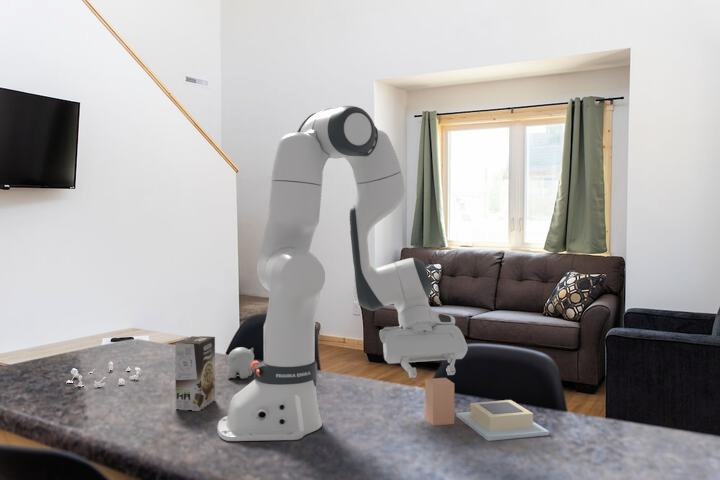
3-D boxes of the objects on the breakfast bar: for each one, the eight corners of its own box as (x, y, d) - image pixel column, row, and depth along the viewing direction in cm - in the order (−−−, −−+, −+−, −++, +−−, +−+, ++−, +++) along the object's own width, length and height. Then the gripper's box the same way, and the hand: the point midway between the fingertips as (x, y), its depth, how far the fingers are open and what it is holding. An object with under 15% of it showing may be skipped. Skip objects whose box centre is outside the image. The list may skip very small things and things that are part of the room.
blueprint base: (487, 440, 126) (487, 422, 126) (456, 416, 142) (456, 399, 142) (548, 435, 130) (549, 416, 130) (512, 411, 145) (512, 395, 145)
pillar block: (432, 425, 136) (433, 384, 135) (424, 418, 140) (425, 379, 140) (454, 423, 137) (454, 383, 137) (445, 416, 142) (445, 377, 141)
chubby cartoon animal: (263, 370, 183) (263, 342, 183) (246, 381, 172) (246, 350, 171) (241, 369, 185) (241, 341, 185) (223, 379, 173) (222, 349, 173)
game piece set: (50, 385, 168) (50, 371, 168) (106, 369, 187) (106, 356, 187) (104, 393, 161) (104, 379, 161) (157, 375, 179) (157, 362, 179)
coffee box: (199, 411, 145) (199, 343, 144) (174, 410, 146) (173, 342, 146) (216, 400, 154) (216, 336, 153) (192, 399, 155) (192, 335, 154)
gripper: (380, 320, 147) (392, 370, 138) (460, 316, 152) (477, 365, 143) (375, 335, 152) (386, 385, 142) (453, 331, 157) (469, 379, 148)
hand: (432, 375), depth 143 cm, fingers open, 8 cm apart
